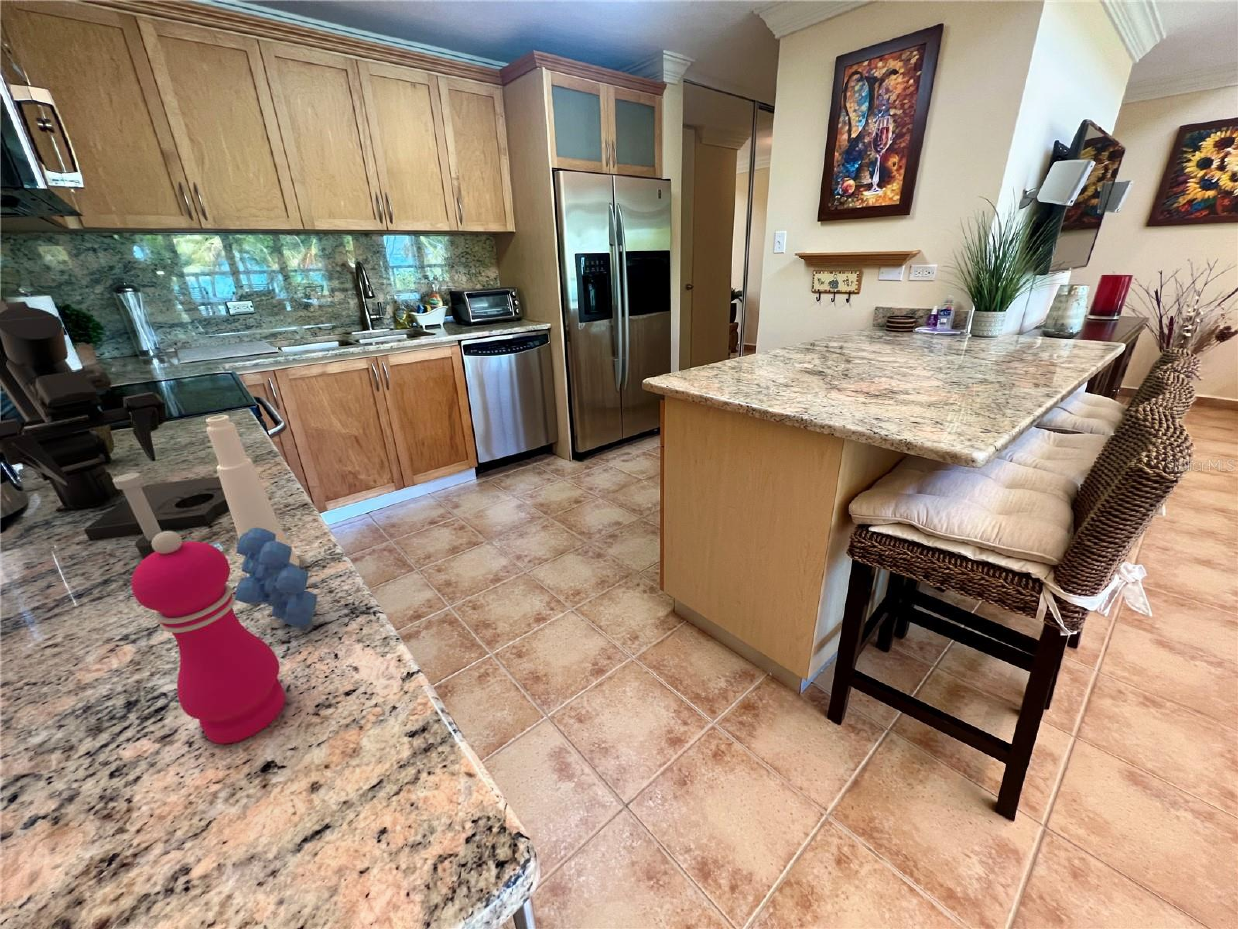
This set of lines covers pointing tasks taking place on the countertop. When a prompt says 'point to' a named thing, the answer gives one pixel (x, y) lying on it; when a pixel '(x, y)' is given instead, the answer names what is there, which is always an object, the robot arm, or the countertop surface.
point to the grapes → (274, 578)
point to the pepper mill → (209, 639)
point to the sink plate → (166, 508)
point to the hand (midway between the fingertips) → (113, 471)
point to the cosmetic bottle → (242, 483)
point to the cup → (106, 437)
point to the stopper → (139, 511)
